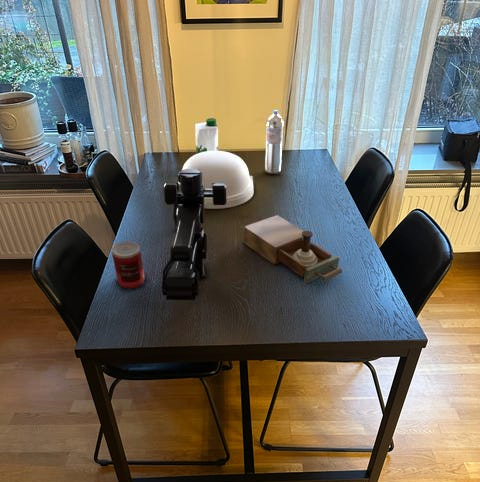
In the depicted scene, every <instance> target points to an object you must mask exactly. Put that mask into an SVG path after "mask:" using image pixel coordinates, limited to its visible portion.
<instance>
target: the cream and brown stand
mask: <svg viewBox="0 0 480 482" xmlns="http://www.w3.org/2000/svg"><path fill="white" fill-rule="evenodd" d="M302 236H303V239H302V248H301V249H299V250H298V251H297V252H295V253H294V254H293V255H292V257H294V258H295V259H297V260H298V261H300V262H301V263H303V264H304V265H306V268H309V267H311V266H313V265H315V264H317V262H318V259H317V257H316V256H315V254H314V253H313V252H312V251H311V250H310V242H312V237H313V236H314V233H313V232H312V231H310V230H303V232H302Z"/></svg>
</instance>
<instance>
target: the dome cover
mask: <svg viewBox="0 0 480 482" xmlns="http://www.w3.org/2000/svg"><path fill="white" fill-rule="evenodd" d="M184 169H199V170H201V171H202V183H203V184H204V189H212V186H211V184H212V183H224V184H225V185H226V204H225V205H213V197H204V209H211V210H212V209H215V210H216V209H219V210H220V209H227V208H233V207H237V206H240V205H242V204H244V203H246V202H248V201H249V200H251V198H252V197H253V196H254V192H255V191H254V176H253V175H250V172H249V168H248V166H247V164H246V162H244V160H243V158H241V157H240V156H238V155H236V154H235V153H232V152H228V151H224V150H218V151H206V152H202V153H198V154H197V153H196V154H193V155H192V156H190V157H189V158H188V159H187V160H186V161H185V162H184V164H183V166H182V169H181V170H184ZM177 183H179V181H178V182H177ZM179 184H180V183H179Z"/></svg>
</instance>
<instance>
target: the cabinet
mask: <svg viewBox="0 0 480 482" xmlns="http://www.w3.org/2000/svg"><path fill="white" fill-rule="evenodd" d="M303 231H304V230H303V229H301V228H300V227H297V226H296V225H295V224H293V223H291V222H290V221H288V220H286V219H284V218H283V217H281V216H280V215H278V214H276V215H273V216H271V217H268V218H267V217H266V218H265V219H261V220H260V221H256V222H253V223H250V224H247V225H244V227H243V243H244V245H246V246H247V247H249V248H250V249H252V250H253V251H254V252H256V253H257V254H258V255H260V256H261V257H262V258H264V259H266V260H267V261H268V262H270V263H271V264H272V265H277V264H279V263H281V262H280V261H279V260H277V249H279V248H281V247H284V246H286V245H289V244H291V243H294V242H296V241H299V240H301V239H303V236H302V232H303Z"/></svg>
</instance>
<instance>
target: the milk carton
mask: <svg viewBox="0 0 480 482" xmlns="http://www.w3.org/2000/svg"><path fill="white" fill-rule="evenodd" d="M194 127H195V150H196V151H195V152H196V154H198V153H202V152H206V151H219V127H218V124H217V119H216V118H214V117H211V118H210V117H209V118H206V122H200V123H195V124H194Z"/></svg>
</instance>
